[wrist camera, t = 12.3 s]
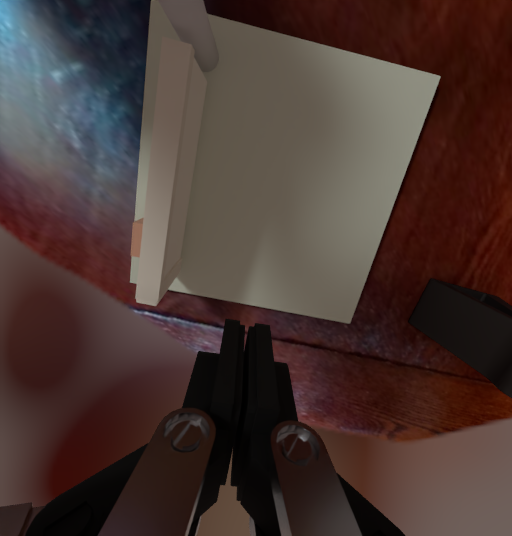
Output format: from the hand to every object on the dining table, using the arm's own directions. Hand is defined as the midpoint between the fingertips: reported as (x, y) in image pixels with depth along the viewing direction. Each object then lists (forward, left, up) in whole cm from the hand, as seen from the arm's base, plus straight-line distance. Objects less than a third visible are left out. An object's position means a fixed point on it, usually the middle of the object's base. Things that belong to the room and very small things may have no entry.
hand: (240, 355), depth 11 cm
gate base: (+1, +5, -22) cm, 22 cm away
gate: (-7, +4, -20) cm, 22 cm away
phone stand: (+26, -4, -22) cm, 34 cm away
